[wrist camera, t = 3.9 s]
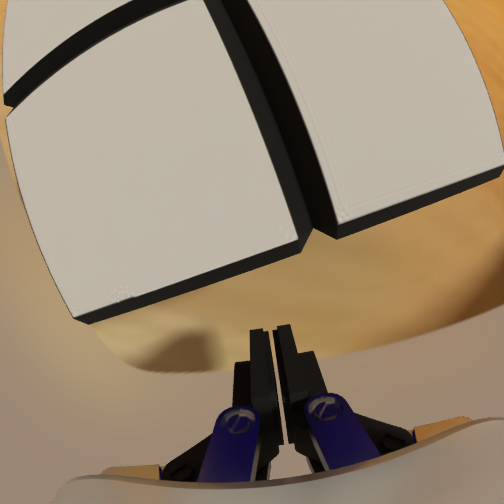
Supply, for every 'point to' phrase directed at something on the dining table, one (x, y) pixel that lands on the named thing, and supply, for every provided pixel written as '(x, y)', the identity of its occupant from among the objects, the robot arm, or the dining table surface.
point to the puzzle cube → (230, 133)
